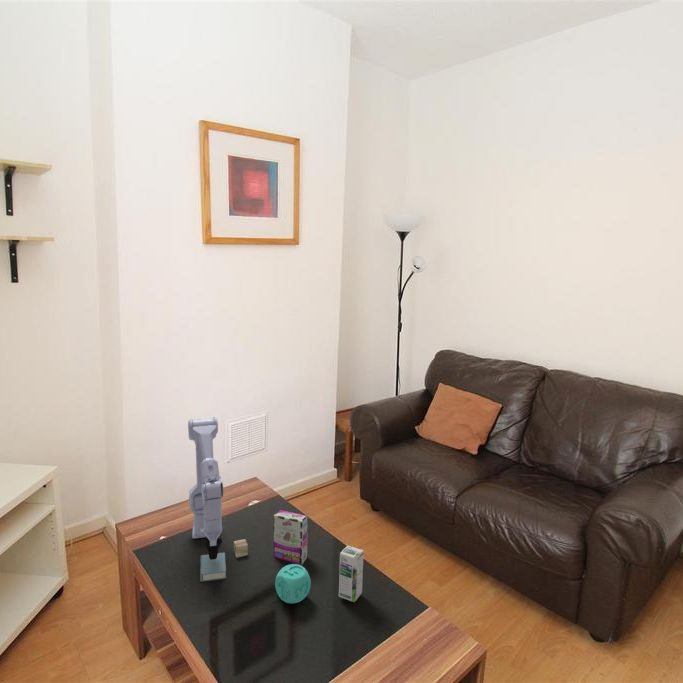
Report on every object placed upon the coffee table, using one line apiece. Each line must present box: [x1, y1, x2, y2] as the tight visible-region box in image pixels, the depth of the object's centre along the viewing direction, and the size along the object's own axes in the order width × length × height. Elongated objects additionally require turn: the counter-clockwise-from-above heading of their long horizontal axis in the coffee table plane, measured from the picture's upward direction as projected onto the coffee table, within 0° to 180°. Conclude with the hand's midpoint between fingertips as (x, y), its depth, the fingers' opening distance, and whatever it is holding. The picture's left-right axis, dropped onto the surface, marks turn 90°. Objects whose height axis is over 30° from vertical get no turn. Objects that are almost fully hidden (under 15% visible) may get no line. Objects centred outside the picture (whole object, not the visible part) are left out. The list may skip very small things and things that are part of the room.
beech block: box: [233, 538, 249, 559], centre depth 170 cm, size 4×4×5 cm
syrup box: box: [338, 545, 364, 603], centre depth 150 cm, size 6×6×14 cm
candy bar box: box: [272, 509, 309, 566], centre depth 168 cm, size 11×5×16 cm, turn 68°
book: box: [199, 552, 227, 583], centre depth 161 cm, size 11×8×3 cm
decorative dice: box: [274, 563, 312, 604], centre depth 149 cm, size 8×8×8 cm
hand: (213, 554), depth 161 cm, fingers open, 4 cm apart
